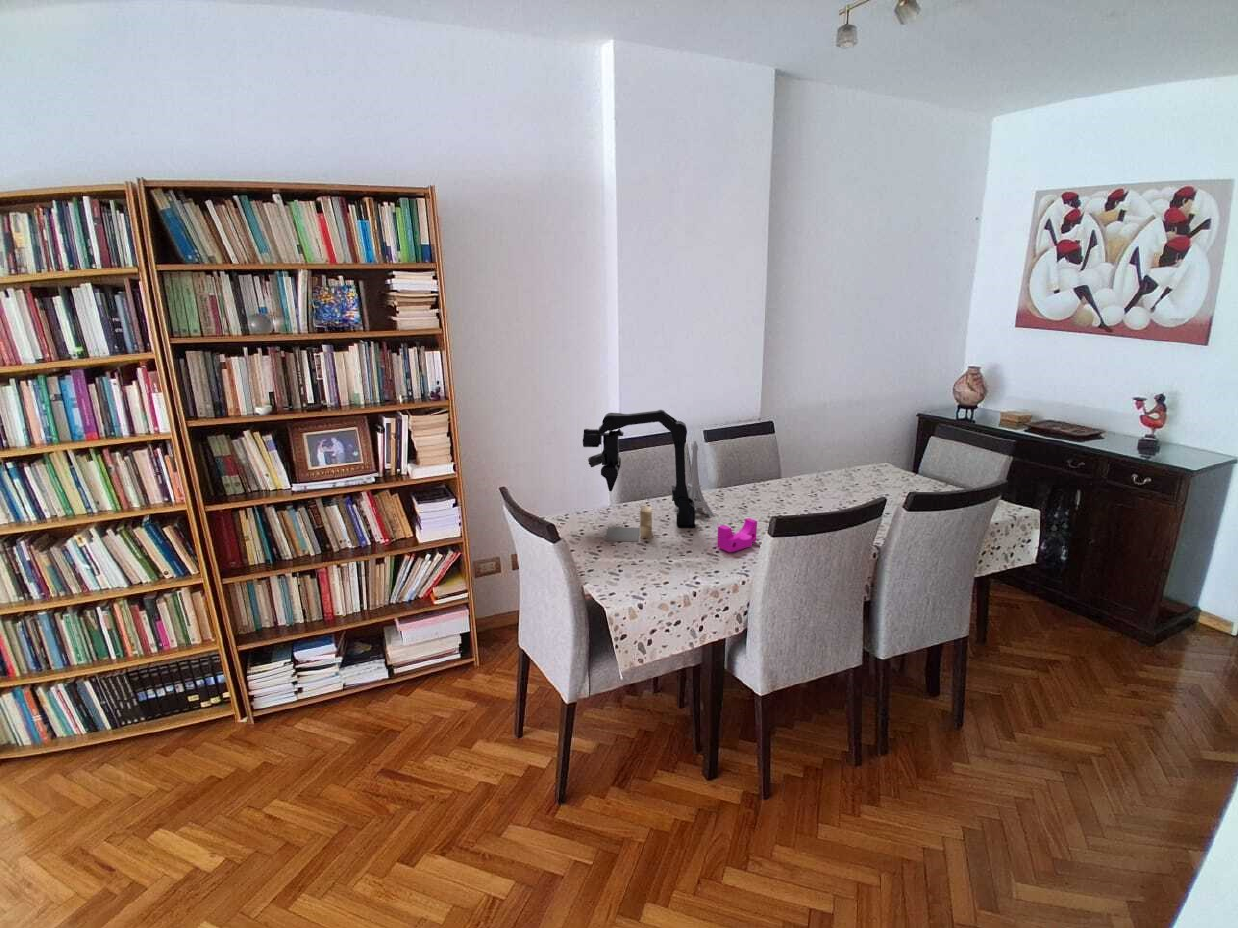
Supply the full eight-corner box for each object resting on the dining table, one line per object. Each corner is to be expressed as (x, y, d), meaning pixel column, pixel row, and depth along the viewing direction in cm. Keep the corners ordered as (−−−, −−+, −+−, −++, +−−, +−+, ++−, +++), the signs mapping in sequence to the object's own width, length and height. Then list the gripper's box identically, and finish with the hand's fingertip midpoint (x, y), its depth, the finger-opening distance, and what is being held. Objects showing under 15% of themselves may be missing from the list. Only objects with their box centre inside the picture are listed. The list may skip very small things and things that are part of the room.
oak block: (651, 532, 235) (651, 506, 233) (651, 538, 230) (651, 511, 227) (640, 531, 236) (640, 506, 233) (640, 537, 230) (640, 511, 227)
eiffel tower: (701, 507, 263) (703, 436, 256) (716, 517, 251) (718, 443, 243) (671, 511, 259) (672, 438, 252) (685, 521, 247) (686, 445, 239)
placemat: (639, 528, 240) (639, 527, 240) (638, 541, 226) (638, 541, 226) (608, 527, 240) (608, 527, 240) (604, 541, 227) (604, 540, 227)
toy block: (729, 552, 216) (730, 531, 214) (717, 546, 221) (717, 526, 219) (761, 543, 224) (762, 523, 222) (748, 537, 229) (749, 518, 227)
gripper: (592, 441, 246) (592, 480, 250) (586, 453, 228) (587, 494, 232) (620, 441, 245) (621, 480, 249) (617, 453, 227) (617, 495, 231)
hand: (611, 487), depth 241 cm, fingers open, 9 cm apart
